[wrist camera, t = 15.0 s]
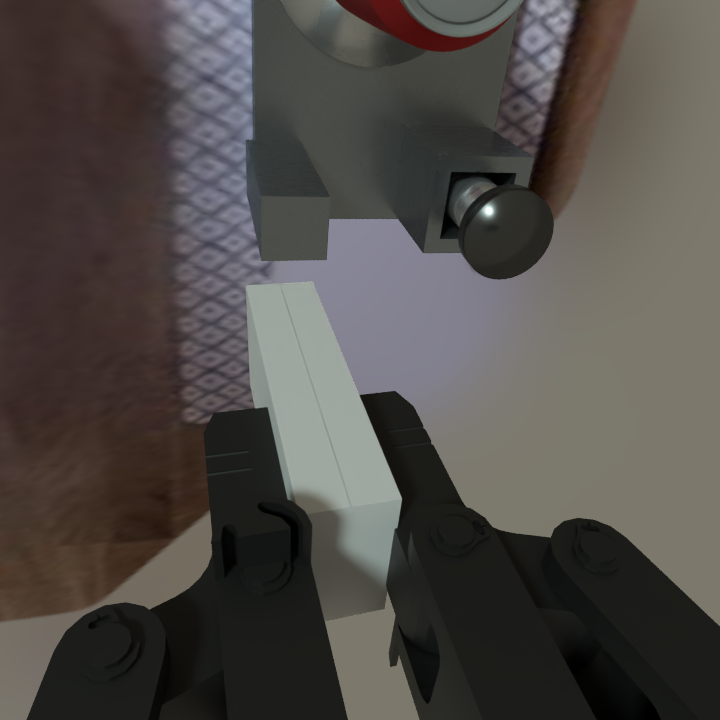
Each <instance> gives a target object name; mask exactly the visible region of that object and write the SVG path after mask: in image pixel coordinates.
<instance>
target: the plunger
mask: <svg viewBox="0 0 720 720" xmlns="http://www.w3.org/2000/svg"><path fill="white" fill-rule="evenodd" d="M444 212H445V213H446V214H447V215H448V216H449V217H450V218H451V219H452V220H453V221H454V222H455V223H456V225H457V226H458V227H459V232H458V243H459V247H460V251H461V253H462V255H463V256H464V258H465V259H466V260H467V262H468V263H469V264H470V265H471V266H472V267H473V269H474V270H475V271H476V272H478V273H479V274H481V275H482V276H485V277H487V278H491V279H507V278H512V277H515V276H517V275H519V274H521V273H523V272H525V271H527V270H528V269H530V268H531V267H532V266H533V265H534V264H536V263H537V262H538V260H539V259H540V258H541V257H542V256H543V254H544V253H545V251H546V249H547V248H548V246H549V243H550V241H551V238H552V234H553V227H554V223H553V216H552V212H551V210H550V208H549V206H548V205H547V203H546V202H545V201H544V200H543V199H542V198H541V197H539V196H538V195H537V194H535V193H534V192H533V191H531V190H530V189H528V188H526V187H524V186H521V185H516V184H505V185H500V186H497V185H495V184H494V183H493V182H492V181H490V180H489V179H488V178H487V177H486V176H484V175H483V174H482V173H481V172H451V176H450V182H449V188H448V193H447V199H446V205H445V211H444Z"/></svg>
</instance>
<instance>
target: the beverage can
mask: <svg viewBox="0 0 720 720" xmlns="http://www.w3.org/2000/svg"><path fill="white" fill-rule="evenodd" d="M336 1H337V2H338V3H339V4H340V5H341V6H342V7H343V8H344V9H346V10H347V11H348V12H350V13H351V14H353V15H355V16H356V17H358V18H360V19H361V20H363V21H365V22H367V23H369V24H371V25H372V26H374V27H376V28H378V29H380V30H382V31H384V32H386V33H387V34H389V35H391V36H393V37H395V38H398V39H400V40H402V41H404V42H406V43H408V44H410V45H413V46H415V47H417V48H420V49H424V50H428V51H435V52H449V51H456V50H461V49H464V48H467V47H470V46H472V45H475V44H477V43H479V42H481V41H483V40H484V39H486V38H487V37H489V36H490V35H492V34H493V33H494V32H496V31H497V30H498V29H499V28H500V27H501V26H502V25H504V24H505V22H506V21H507V20H508V19H509V18H510V17H511V16H512V15H513V13H514V12H515V11H516V10H517V9H518V7H519V6H520V5H521V4H522V3H523V1H524V0H336Z"/></svg>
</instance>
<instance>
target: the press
mask: <svg viewBox="0 0 720 720" xmlns="http://www.w3.org/2000/svg"><path fill="white" fill-rule="evenodd" d="M518 11H519V7H518V9H517V10H516V11H515V12H514V13H513V15H512V16H511V17H510V18H509V19H508V20H507V21H506V22H505V24H504V25H502V26H501V27H500V28H499V29H498V30H497V31H496V32H494V33H493V34H492V35H490V36H489V37H487V38H486V39H484V40H483V41H481V42H479V43H477V44H475V45H472V46H470V47H467V48H464V49H461V50H456V51H449V52H435V51H428V50H424V49H420V48H417V47H415V46H413V45H410V44H408V43H406V42H404V41H402V40H400V39H398V38H395V37H393V36H391V35H389V34H387V33H386V32H384V31H382V30H380V29H378V28H376V27H374V26H372V25H371V24H369V23H367V22H365V21H363V20H361V19H360V18H358V17H356V16H355V15H353V14H351V13H350V12H348V11H347V10H346V9H344V8H343V7H342V6H341V5H340V4H339V3H338V2H337V1H336V0H252V87H253V140H246V174H247V197H248V201H249V206H250V211H251V215H252V220H253V224H254V229H255V233H256V238H257V243H258V247H259V252H260V256H261V261H282V260H283V261H284V260H285V261H287V260H326V259H327V243H328V227H329V219H399V221H400V222H401V223H402V225H403V226H404V227H405V229H406V230H407V231H408V233H409V234H410V236H411V237H412V238H413V240H414V241H415V242H416V244H417V245H418V246H419V248H420V249H421V251H422V252H423V253H461V251H460V247H459V243H458V232H459V227H458V226H457V225H456V223H455V222H454V221H453V220H452V219H451V218H450V217H449V216H448V215H447V214H446V213H445V212H444V211H445V205H446V199H447V193H448V188H449V182H450V176H451V172H481V173H482V174H483V175H484V176H486V177H487V178H488V179H489V180H490V181H492V182H493V183H494V184H495V185H497V186H500V185H505V184H516V185H521V186H524V187H526V188H527V187H528V183H529V179H530V174H531V170H532V166H533V162H534V157H533V156H531V155H530V154H528V153H527V152H525V151H524V150H522V149H521V148H519V147H517V146H516V145H514V144H513V143H511V142H510V141H508V140H507V139H505V138H504V137H502V136H500V135H499V134H497V133H496V132H494V130H495V125H496V120H497V115H498V110H499V105H500V100H501V95H502V90H503V85H504V80H505V75H506V70H507V65H508V60H509V55H510V50H511V45H512V40H513V35H514V30H515V25H516V20H517V16H518Z"/></svg>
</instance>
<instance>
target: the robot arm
mask: <svg viewBox="0 0 720 720" xmlns="http://www.w3.org/2000/svg"><path fill="white" fill-rule="evenodd" d="M246 302H247V325H248V348H249V371H250V386H251V391H252V396H253V401H254V407H255V408H254V409H245V410H236V411H228V412H219V413H214V414H213V416H212V418H211V420H210V422H209V424H208V426H207V428H206V430H205V432H204V442H205V454H206V466H207V477H208V489H209V501H210V513H211V524H212V541H211V544H212V557H211V559H210V562H209V565H208V567H207V569H206V570H205V572H204V573H203V574H202V576H201V577H200V579H199V580H197V582H195V583H194V584H193V585H192V586H191V587H190V588H189V589H187V590H186V591H184V592H183V593H181V594H179V595H178V596H176V597H174V598H172V599H170V600H168V601H166V602H164V603H162V604H160V605H158V606H156V607H154V608H152V609H150V610H149V609H147V608H146V607H144V606H140V605H136V604H131V603H119V604H112V605H105V606H103V607H101V608H99V609H96V610H94V611H92V612H90V613H88V614H86V615H84V616H83V617H82V618H81V619H79V620H78V621H77V622H76V623H75V624H74V625H73V626H71V627H70V628H69V629H68V630H67V631H66V632H65V634H64V635H63V637H62V639H61V640H60V642H59V644H58V645H57V647H56V649H55V650H54V653H53V655H52V657H51V660H50V662H49V665H48V667H47V670H46V672H45V675H44V677H43V680H42V682H41V685H40V688H39V690H38V692H37V695H36V697H35V700H34V702H33V705H32V707H31V710H30V713H29V715H28V718H27V720H348V718H347V714H346V710H345V706H344V702H343V698H342V693H341V689H340V684H339V680H338V676H337V672H336V667H335V663H334V659H333V655H332V650H331V646H330V642H329V638H328V634H327V629H326V625H325V621H328V620H332V619H337V618H342V617H347V616H352V615H357V614H362V613H366V612H371V611H376V610H381V609H384V608H385V601H386V596H387V591H388V594H389V597H390V600H391V603H392V606H393V609H394V612H395V615H396V617H395V622H394V627H393V633H392V639H391V644H390V650H389V660H390V666H391V667H392V666H396V665H397V661H398V656H400V659H401V662H402V666H403V669H404V672H405V675H406V678H407V681H408V685H409V688H410V690H411V694H412V697H413V700H414V703H415V706H416V710H417V712H418V716H419V719H420V720H720V626H719V625H718V624H717V623H715V622H714V621H713V620H712V619H711V618H710V617H709V616H708V615H707V614H706V613H705V612H704V611H703V610H702V609H701V608H700V607H699V606H698V605H696V604H695V603H694V602H693V601H692V600H691V599H690V598H689V597H688V596H687V595H686V594H685V593H684V592H683V591H682V590H680V588H679V587H678V586H676V585H675V584H674V583H673V582H672V581H671V580H670V579H669V578H668V577H667V576H666V575H665V574H664V573H663V572H662V571H660V570H659V568H657V566H655V565H654V564H653V563H652V562H651V561H650V560H649V559H648V558H647V557H646V556H645V555H644V554H643V553H642V552H641V551H640V550H638V549H637V548H636V547H635V546H634V545H633V544H632V543H631V542H630V541H629V540H628V539H627V538H626V537H624V536H623V535H622V534H620V533H619V532H617V531H616V530H615V529H614V528H612V527H611V526H608V525H606V524H603V523H600V522H598V521H596V520H591V519H582V518H576V519H571V520H567V521H564V522H562V523H561V524H560V525H559V526H557V527H556V528H555V529H554V531H553V533H552V536H551V538H549V537H540V536H533V535H523V534H516V533H510V532H505V531H501V530H498V529H496V528H493V527H492V526H491V525H490V523H489V522H488V521H487V520H486V518H485V517H483V516H481V515H480V514H478V513H477V512H475V511H474V510H472V509H471V508H467V507H466V506H465V505H464V503H463V502H462V500H461V498H460V496H459V494H458V492H457V490H456V488H455V486H454V484H453V483H452V481H451V479H450V477H449V475H448V473H447V471H446V469H445V467H444V465H443V463H442V461H441V459H440V457H439V455H438V453H437V451H436V449H435V447H434V446H433V445H432V444H431V440H430V438H429V436H428V434H427V432H426V430H425V429H424V428H423V424H422V422H421V420H420V418H419V416H418V414H417V412H416V410H415V408H414V407H413V406H412V405H411V404H410V403H409V402H408V401H407V400H405V399H404V398H403V397H402V396H401V395H399V394H398V393H397V392H396V391H391V392H382V393H374V394H365V395H359V393H358V391H357V389H356V386H355V383H354V381H353V379H352V376H351V374H350V372H349V369H348V366H347V364H346V362H345V359H344V357H343V354H342V352H341V350H340V347H339V345H338V342H337V340H336V337H335V335H334V332H333V330H332V328H331V325H330V323H329V320H328V318H327V315H326V313H325V311H324V308H323V306H322V303H321V301H320V299H319V296H318V294H317V291H316V289H315V286H314V284H313V282H312V281H309V282H293V283H277V284H261V285H246Z"/></svg>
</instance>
